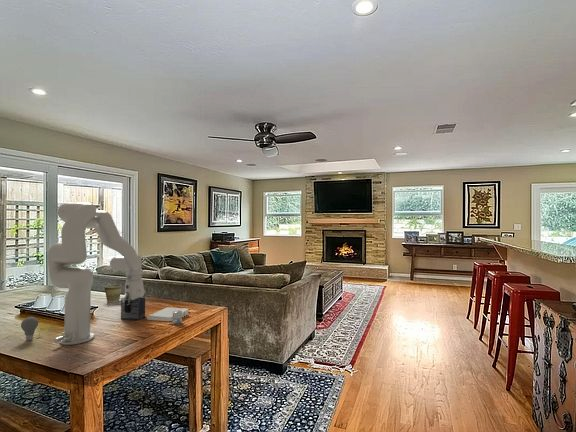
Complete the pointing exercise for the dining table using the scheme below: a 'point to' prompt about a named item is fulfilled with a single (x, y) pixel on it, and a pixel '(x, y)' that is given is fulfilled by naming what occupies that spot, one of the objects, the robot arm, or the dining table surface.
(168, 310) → the scale
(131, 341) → the dining table surface
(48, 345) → the dining table surface
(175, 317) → the round metal knob
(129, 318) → the small box
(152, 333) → the dining table surface
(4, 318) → the dining table surface
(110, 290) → the olive flower pot
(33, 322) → the light bulb
